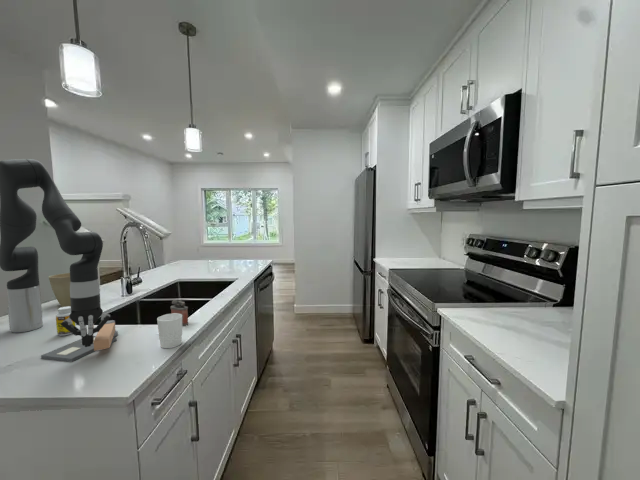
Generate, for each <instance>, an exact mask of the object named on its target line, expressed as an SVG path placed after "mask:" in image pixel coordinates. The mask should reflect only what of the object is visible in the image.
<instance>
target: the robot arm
mask: <svg viewBox="0 0 640 480" xmlns="http://www.w3.org/2000/svg"><path fill="white" fill-rule="evenodd" d="M29 188H30V189H31V188H40V189H41V190H42V191H43V199H42V203H41V213H42V215H43V217H44V219H45V221H47V223H48V224H49V225H50V227H52V229H53V230H54V232H55V234H56V235H55V236H56V238H57V240H58V245H59V247H60V249H61V250H62V252H64V253H66V254H67V255H70V256H80V255H81V258H80V259H79V260H78V261H75V262H73V263H72V264H70V266H69V273H70V281H71V282H70V301H71V314H70V315H69V318H68V319H66V320H64V321H63V322H62V323H61V325H62V326H63V327H64V328H66V329H67V330H68V331H70V332H71V333H72V334H71V335H74V336H80V337H81V339H82V345H83V346H84V345H85V347H89V346H91V344H93V341H94V338H93V336H94V334H95V333H98V332H99V331H100V329H101V328H102V327H103V326H104V325H105V323H106V322H107V321H110V320H109V319H110V318H111V314H110V313H105V312H104V310H103V309H102V307H101V288H100V283H99V269H98V267H99V264H100V260H101V255H102V251H103V246H104V243H103V242H104V241H103V239H102V237H101V235H100V234H98V233H97V232H95V231H81V232H80V231H79V230H80V229H81V227H82V222H81V220H80V219H79V217H78V216H77V215H76V213H75V212H74V211H73V210H72V209H71V208H70V206H69V205H68V204H67V203H66V201H65V199H64V198H63V196H62V194H61V192H60V190H59V189H58V186H57V185H56V183H55V181H54V180H53V177H52V176H51V174H50V172H49V171H48V169H47V168H46V167H45V166H44V164H43V163H42V162H41V161H39V160H38V159H34V158H16V159H15V158H14V159H13V158H12V159H2V160H0V269H1V270H2V271H3V272H17V271H26V270H27V271H26V272H25V273H24V274H22V275H21V276H18V277H16V278H13V279H11V280H9V281H7V282H6V290H7V291H6V292H7V299H8V301H7V302H8V307H7V315H8V324H9V325H8V326H9V331H10V332H11V333H24V332H25V333H26V332H29V331H33V330H37V329H41V328H42V327H43V326H44V324H43V323H44V322H43V310H42V308H43V307H42V298H41V297H42V296H41V288H40V275H39V254H38V250H37V248H36V247H34V246H18V245H20V244H21V243H22V242H24V240H26V239H28V238H29V237H30V236H31V235H32V234H33V233H34V232H35V230H36V227H37V218H38V217H37V213H36V211H35V209H34V208H33V207H32V206H30V205H29V204H28V203H27V202H26V201H25V200H23V199H22V198H21V197H20V195H18V191H19V190H20V189H21V190H22V189H29ZM17 246H18V247H17ZM99 319H100V322H99V323H98V324H97V325H96V327H94V326H95V323H97V321H98V320H99ZM71 320H72V321H74V322H75V326H76V327H75V326H74V325H73V324H72V321H71ZM77 326H79V328H78V327H77Z"/></svg>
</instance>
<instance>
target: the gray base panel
mask: <svg viewBox="0 0 640 480" xmlns="http://www.w3.org/2000/svg"><path fill="white" fill-rule="evenodd" d="M118 335H119V332H118V330H117V329H115V333H114V336H113V339H112V342H111V344H112V343H114V342H117V338H116V337H118ZM96 336H97V335H93V338H94V340H95V338H96ZM93 352H95V351H94V341H93V344H91V346H89V347H85V345H84V346H83V345H82V338H80V339H77V340H74V341H72V342H70V343H67V344H65V345H63V346H61V347H58V348H56V349H53V350H51V351H48V352H46V353H43V354H41V355H40V359H42V360H44V359H45V360H52V361H61V362H70V363H73V362H74V361H75V362H76V360H79V359H80V358H83V357H86V356H87V355H89V354H91V353H93Z"/></svg>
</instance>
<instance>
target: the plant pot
mask: <svg viewBox="0 0 640 480" xmlns="http://www.w3.org/2000/svg"><path fill="white" fill-rule="evenodd" d="M48 280H49V283H50V287H51V290H52V293H53V294H54V297H55V299H56V300H57V302H58V304H59V305H60V308H61V307H67V306H71V301H70V282H71V281H70V272H63V273H59V274H53V275H49V276H48Z"/></svg>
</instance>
